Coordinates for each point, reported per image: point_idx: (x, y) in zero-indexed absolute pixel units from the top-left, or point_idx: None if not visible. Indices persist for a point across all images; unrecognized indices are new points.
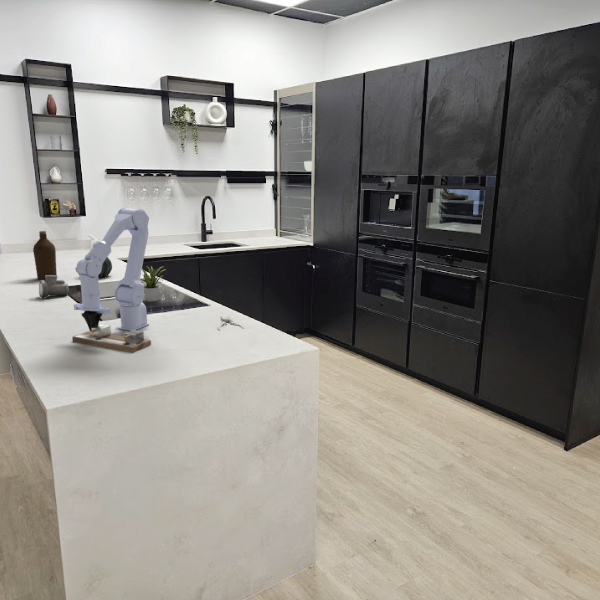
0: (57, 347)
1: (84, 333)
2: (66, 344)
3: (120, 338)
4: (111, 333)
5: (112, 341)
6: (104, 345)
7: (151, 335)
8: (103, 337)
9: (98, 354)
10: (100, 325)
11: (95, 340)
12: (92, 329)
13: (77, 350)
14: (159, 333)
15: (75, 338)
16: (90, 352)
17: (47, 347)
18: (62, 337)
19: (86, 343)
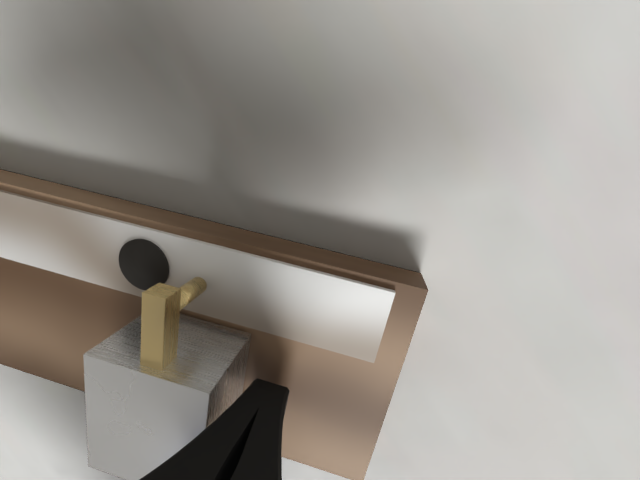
0: (467, 61)
1: (367, 394)
2: (425, 174)
3: (26, 316)
4: None
5: (6, 227)
6: (76, 192)
7: (13, 441)
8: None
9: (2, 4)
10: None
11: (146, 227)
12: (206, 375)
13: (221, 41)
14: (4, 472)
15: (383, 274)
16: (88, 30)
17: (589, 22)
18: (579, 350)
19: (263, 235)
